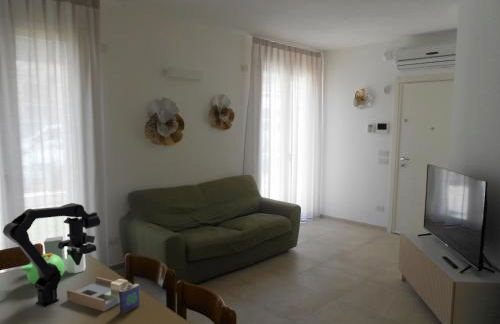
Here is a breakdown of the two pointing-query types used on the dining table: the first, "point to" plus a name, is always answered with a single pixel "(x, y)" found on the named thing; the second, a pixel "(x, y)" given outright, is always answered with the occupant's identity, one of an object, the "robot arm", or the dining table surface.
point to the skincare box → (54, 247)
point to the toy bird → (49, 258)
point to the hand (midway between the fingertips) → (78, 264)
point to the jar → (72, 266)
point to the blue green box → (129, 298)
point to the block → (118, 286)
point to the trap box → (95, 295)
